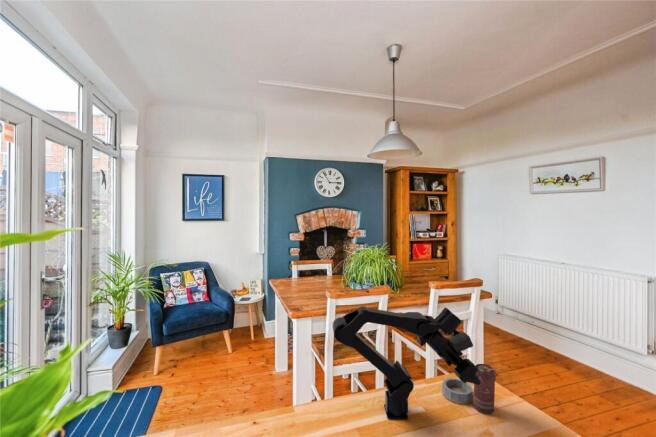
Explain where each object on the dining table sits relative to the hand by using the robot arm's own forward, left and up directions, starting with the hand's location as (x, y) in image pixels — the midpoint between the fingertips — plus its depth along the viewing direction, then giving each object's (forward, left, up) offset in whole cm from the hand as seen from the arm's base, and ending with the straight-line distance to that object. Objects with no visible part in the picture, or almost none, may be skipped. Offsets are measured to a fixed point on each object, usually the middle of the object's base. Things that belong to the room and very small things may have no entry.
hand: (471, 375), depth 99 cm
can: (+5, 0, -12) cm, 13 cm away
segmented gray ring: (-1, +7, -12) cm, 14 cm away
